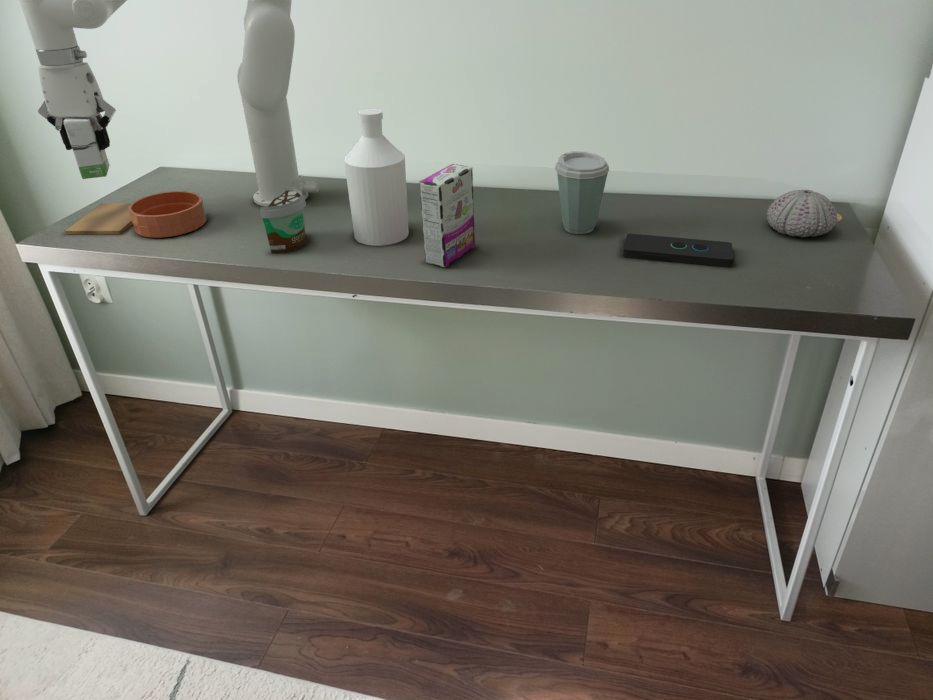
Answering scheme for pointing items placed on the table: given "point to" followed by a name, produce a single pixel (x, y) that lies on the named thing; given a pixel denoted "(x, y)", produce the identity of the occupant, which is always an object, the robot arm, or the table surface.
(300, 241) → the food container
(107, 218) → the wooden board
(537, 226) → the table surface
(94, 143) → the ink box
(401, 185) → the bottle
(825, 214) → the sea urchin shell
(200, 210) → the bowl
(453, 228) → the candy bar box
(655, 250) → the smart home device
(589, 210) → the disposable coffee cup
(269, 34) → the robot arm
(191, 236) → the table surface
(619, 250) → the table surface
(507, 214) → the table surface
